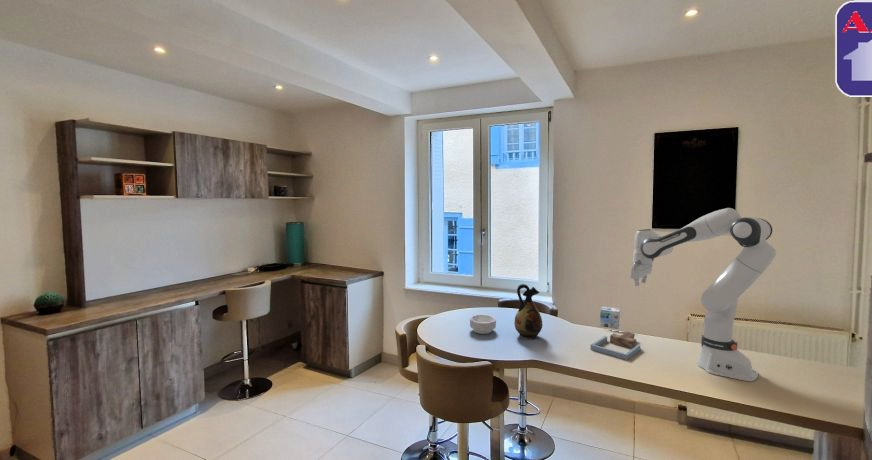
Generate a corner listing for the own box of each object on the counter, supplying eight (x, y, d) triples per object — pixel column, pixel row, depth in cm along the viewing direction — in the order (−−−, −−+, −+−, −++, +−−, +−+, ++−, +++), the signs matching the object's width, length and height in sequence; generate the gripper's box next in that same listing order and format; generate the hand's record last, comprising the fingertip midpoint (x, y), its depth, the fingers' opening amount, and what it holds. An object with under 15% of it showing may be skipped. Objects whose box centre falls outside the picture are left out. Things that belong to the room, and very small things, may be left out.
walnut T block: (641, 342, 217) (642, 335, 217) (633, 348, 209) (633, 341, 208) (619, 336, 226) (619, 329, 225) (609, 342, 217) (610, 335, 217)
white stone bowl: (497, 335, 229) (497, 322, 228) (470, 336, 230) (470, 322, 229) (494, 326, 244) (494, 314, 244) (469, 326, 245) (469, 314, 244)
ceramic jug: (539, 331, 235) (540, 281, 231) (544, 342, 219) (545, 288, 216) (510, 331, 236) (510, 281, 233) (512, 341, 221) (513, 288, 218)
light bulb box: (599, 326, 242) (600, 309, 241) (600, 323, 248) (601, 306, 247) (618, 329, 237) (619, 311, 236) (619, 325, 243) (620, 308, 242)
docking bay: (640, 350, 207) (640, 345, 207) (626, 360, 195) (627, 355, 195) (604, 340, 220) (605, 336, 220) (590, 349, 209) (590, 344, 208)
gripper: (641, 262, 204) (639, 289, 206) (655, 257, 218) (653, 282, 220) (628, 260, 209) (626, 286, 210) (642, 255, 223) (641, 280, 224)
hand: (640, 284), depth 215 cm, fingers open, 8 cm apart
